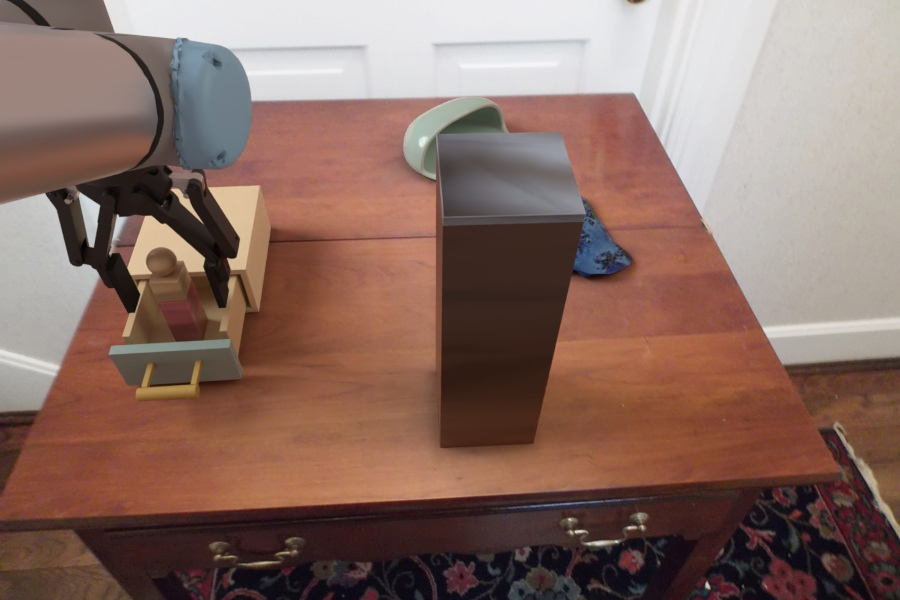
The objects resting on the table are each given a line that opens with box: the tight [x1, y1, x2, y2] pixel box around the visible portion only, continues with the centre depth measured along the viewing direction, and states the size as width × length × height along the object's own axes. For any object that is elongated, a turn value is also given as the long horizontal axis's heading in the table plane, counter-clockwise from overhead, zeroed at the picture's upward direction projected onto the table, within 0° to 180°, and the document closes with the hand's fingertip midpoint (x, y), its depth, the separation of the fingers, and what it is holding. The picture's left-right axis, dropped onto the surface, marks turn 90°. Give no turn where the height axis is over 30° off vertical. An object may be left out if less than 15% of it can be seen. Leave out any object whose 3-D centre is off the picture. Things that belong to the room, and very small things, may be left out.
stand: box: [435, 131, 586, 449], centre depth 60 cm, size 10×10×32 cm
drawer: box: [108, 274, 248, 402], centre depth 73 cm, size 19×12×6 cm, turn 5°
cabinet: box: [127, 184, 272, 314], centre depth 82 cm, size 16×14×8 cm
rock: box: [573, 195, 633, 278], centre depth 89 cm, size 15×17×2 cm
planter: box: [402, 95, 510, 181], centre depth 101 cm, size 19×7×16 cm
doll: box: [146, 247, 208, 342], centre depth 71 cm, size 4×3×13 cm
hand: (179, 301), depth 72 cm, fingers open, 9 cm apart
